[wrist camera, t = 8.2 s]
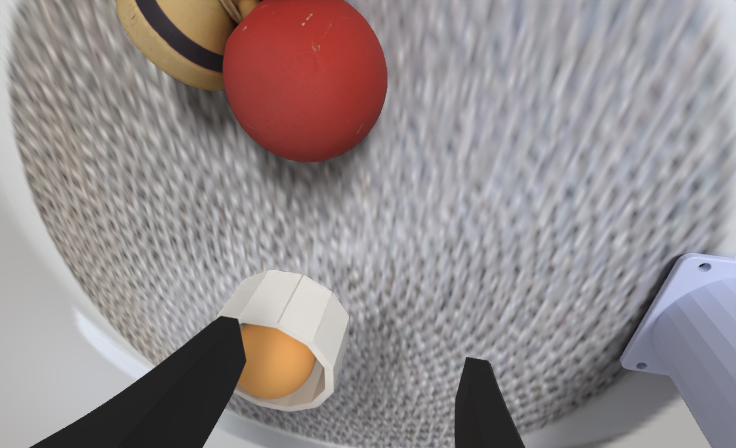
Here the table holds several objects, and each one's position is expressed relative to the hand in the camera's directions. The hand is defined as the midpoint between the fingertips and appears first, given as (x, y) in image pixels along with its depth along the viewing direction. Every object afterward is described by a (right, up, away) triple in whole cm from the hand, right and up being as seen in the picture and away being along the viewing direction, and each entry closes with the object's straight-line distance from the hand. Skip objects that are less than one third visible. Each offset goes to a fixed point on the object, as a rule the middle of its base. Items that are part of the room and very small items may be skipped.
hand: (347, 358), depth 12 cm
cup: (-5, -2, +13) cm, 14 cm away
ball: (-5, -4, +11) cm, 13 cm away
